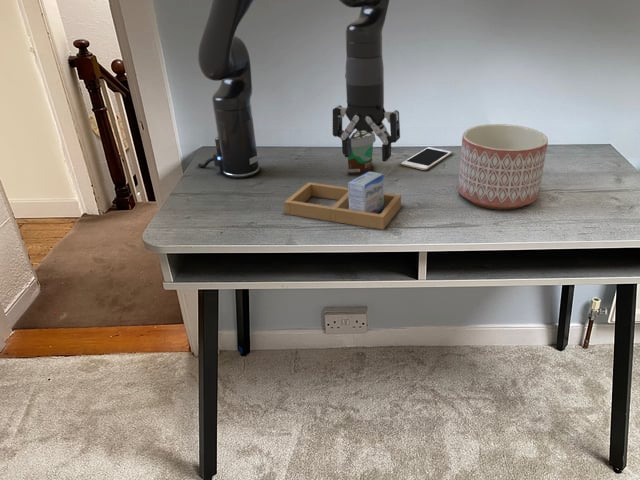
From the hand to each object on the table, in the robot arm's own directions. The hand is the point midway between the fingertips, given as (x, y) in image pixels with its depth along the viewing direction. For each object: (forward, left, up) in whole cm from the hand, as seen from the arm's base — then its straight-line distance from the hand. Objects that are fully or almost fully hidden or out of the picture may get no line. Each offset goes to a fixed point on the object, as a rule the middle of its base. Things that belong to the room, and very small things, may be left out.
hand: (366, 158), depth 118 cm
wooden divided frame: (-6, 0, -13) cm, 14 cm away
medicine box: (0, 0, -13) cm, 13 cm away
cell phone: (+3, +39, -13) cm, 41 cm away
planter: (+26, +20, -13) cm, 36 cm away
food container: (-11, +26, -13) cm, 31 cm away
